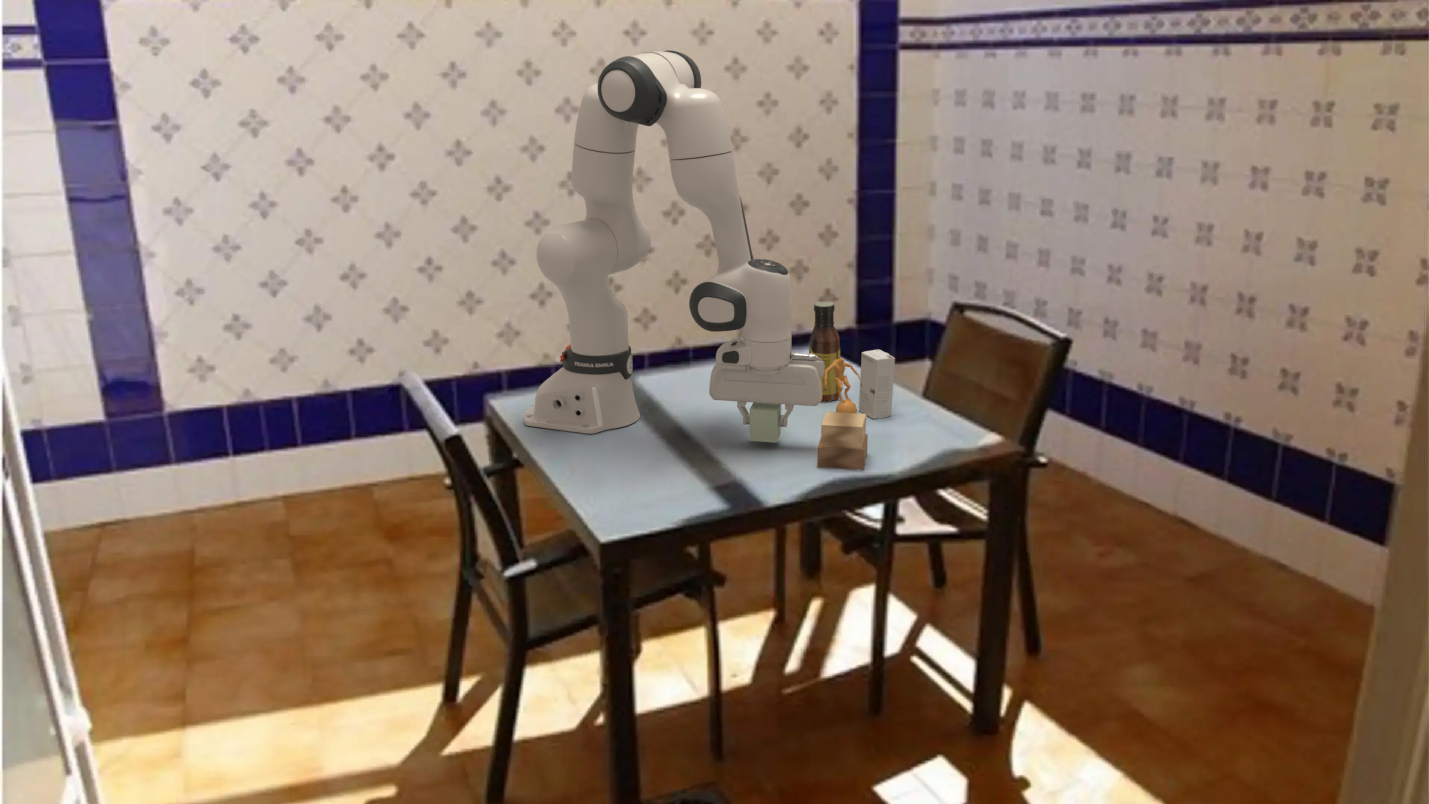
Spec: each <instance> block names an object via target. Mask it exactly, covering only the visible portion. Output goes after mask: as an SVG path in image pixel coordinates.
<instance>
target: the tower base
mask: <svg viewBox="0 0 1429 804" xmlns="http://www.w3.org/2000/svg"><path fill="white" fill-rule="evenodd" d="M868 437H869V435H868V433H866V436H865V439H864V443H863V446H862V449H850V448H833V447H821V437H820V438H819V442H818V445H817V459H816V460H817V461H816V462H817V464H816V465H817V468H819V469H820V468H821V469H822V468H823V469H839V470H841V469H842V470H856V469H861V470H860V471H864V470H865V467H864V466H865V465H866V460H867V456H868Z"/></svg>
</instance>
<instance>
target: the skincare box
mask: <svg viewBox="0 0 1429 804" xmlns="http://www.w3.org/2000/svg"><path fill="white" fill-rule="evenodd" d="M860 359H861V363H860V375H859V377H860V380H859V395H858V397H859V398H858V410H859V411H860V412H861V413H862V414H866V417H869V418H870V419H883V418H887V417H891V416H892V405H893V394H894V393H893V392H894V391H893V390H894V377H895V363H896V358H895V357H894V356H892V355H890V353H888V352H885V351H883V350H881V349H873V350H866V351H862V352H861V358H860Z"/></svg>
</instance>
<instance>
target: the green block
mask: <svg viewBox="0 0 1429 804" xmlns="http://www.w3.org/2000/svg"><path fill="white" fill-rule="evenodd" d="M749 413H750V425H749V442H759V443H760V442H762V443H775V444H777V443H778V441H779V438H780V436H781V432H782V427H779V426H778V424H779V416H780V415H782V404H771V403H755V402H752V405H751V406H750V408H749Z"/></svg>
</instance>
